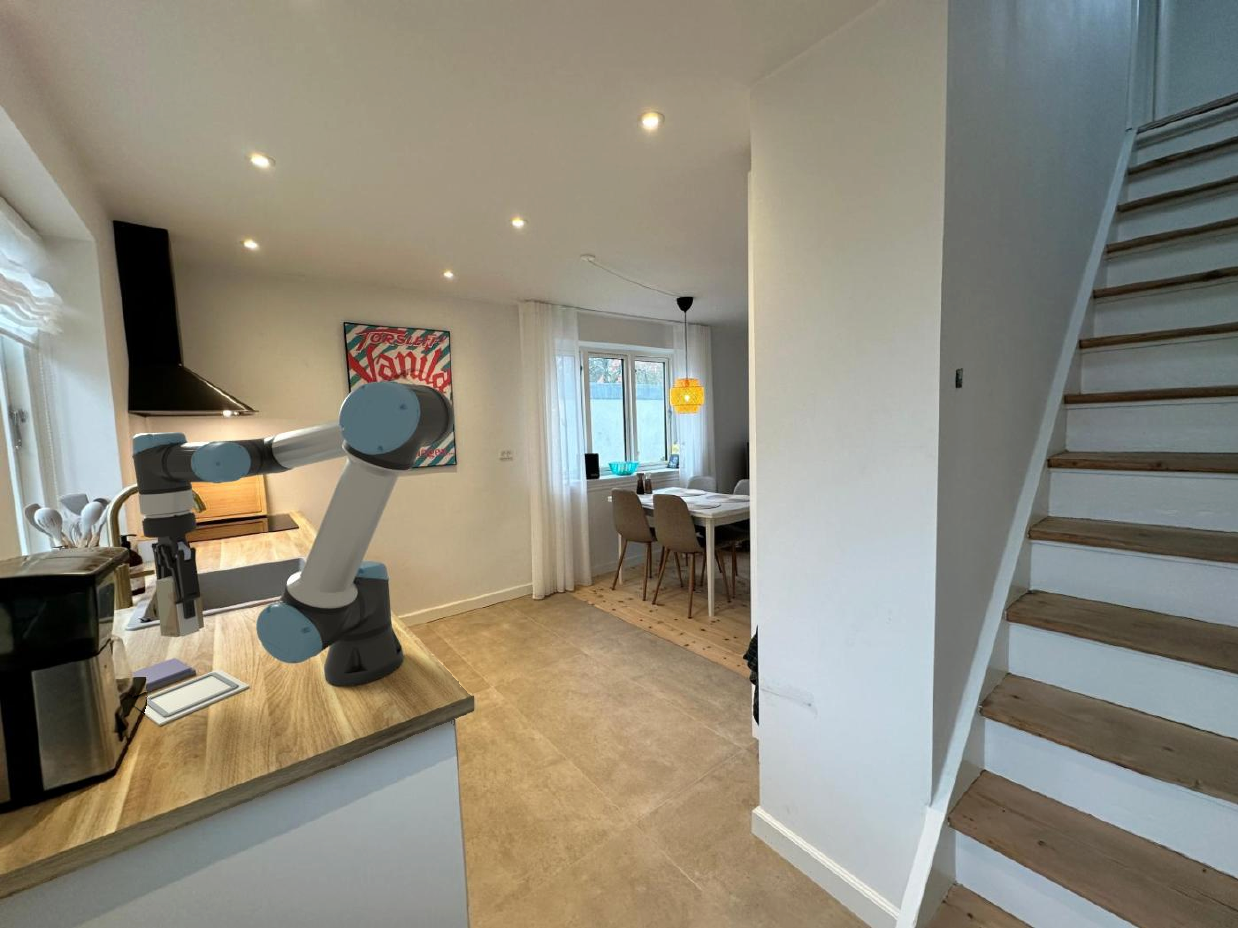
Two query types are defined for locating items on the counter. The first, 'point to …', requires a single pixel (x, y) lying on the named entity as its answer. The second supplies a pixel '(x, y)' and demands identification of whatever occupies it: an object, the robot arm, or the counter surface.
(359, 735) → the counter surface
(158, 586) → the box
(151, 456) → the robot arm
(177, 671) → the pad
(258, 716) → the counter surface
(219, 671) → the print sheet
